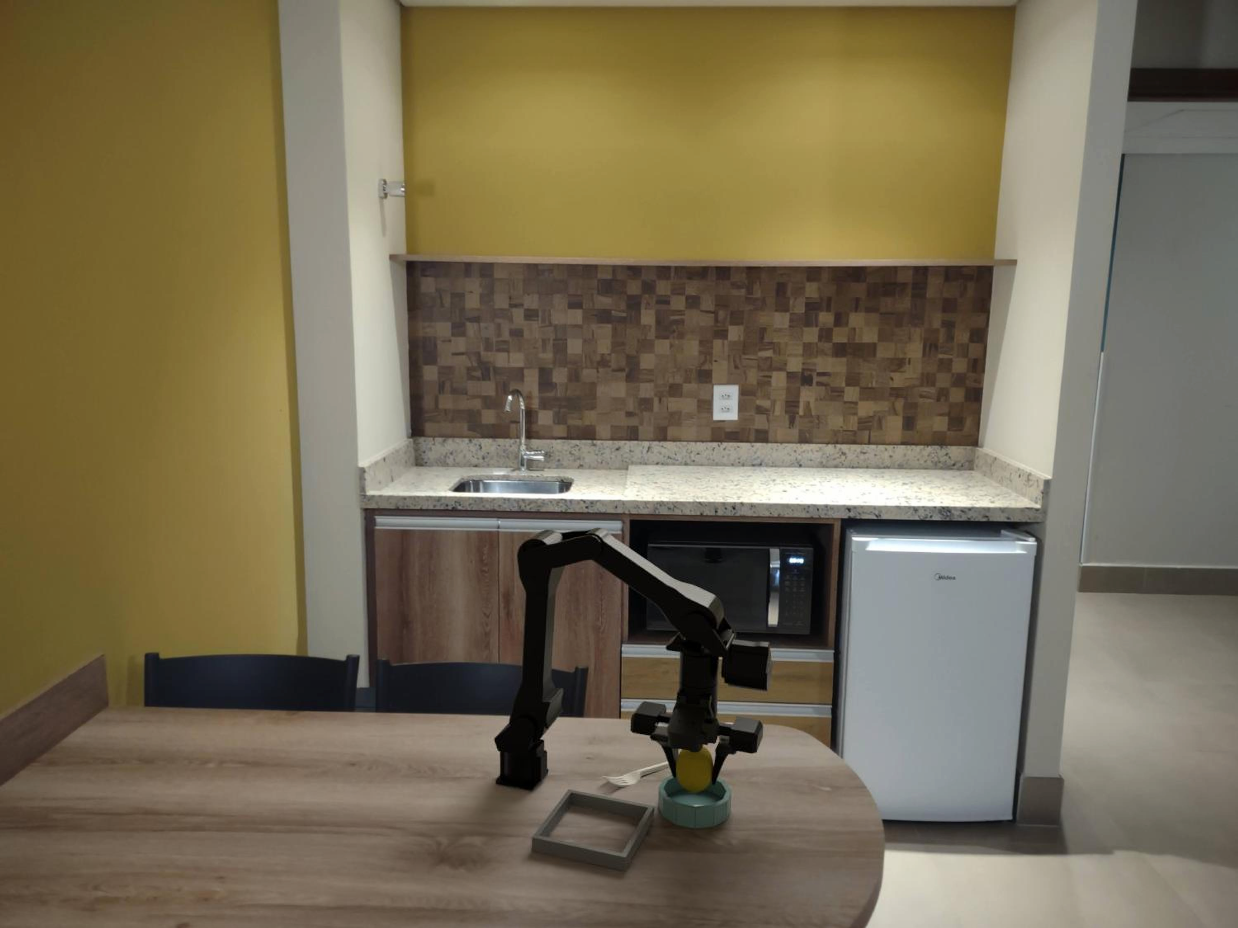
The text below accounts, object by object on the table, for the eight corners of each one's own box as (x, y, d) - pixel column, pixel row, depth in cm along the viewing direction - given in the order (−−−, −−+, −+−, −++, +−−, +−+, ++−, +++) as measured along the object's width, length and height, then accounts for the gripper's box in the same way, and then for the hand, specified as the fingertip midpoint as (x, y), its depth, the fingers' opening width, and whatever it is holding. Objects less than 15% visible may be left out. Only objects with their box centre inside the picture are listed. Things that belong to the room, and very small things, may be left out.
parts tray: (531, 850, 126) (531, 836, 125) (568, 801, 138) (568, 789, 138) (625, 870, 122) (625, 857, 121) (654, 818, 134) (654, 805, 134)
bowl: (650, 819, 134) (651, 800, 133) (669, 784, 144) (670, 766, 143) (721, 833, 131) (721, 813, 130) (735, 797, 140) (736, 778, 140)
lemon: (710, 805, 133) (712, 753, 132) (672, 800, 134) (674, 749, 133) (714, 785, 139) (716, 736, 137) (677, 781, 140) (679, 732, 138)
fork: (708, 761, 153) (709, 750, 153) (610, 793, 141) (611, 782, 141) (696, 753, 155) (696, 742, 155) (598, 785, 144) (598, 773, 143)
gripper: (619, 692, 129) (617, 795, 132) (752, 713, 123) (746, 820, 126) (643, 663, 139) (640, 759, 142) (766, 682, 134) (760, 781, 136)
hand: (694, 780), depth 136 cm, fingers closed on lemon, 5 cm apart
